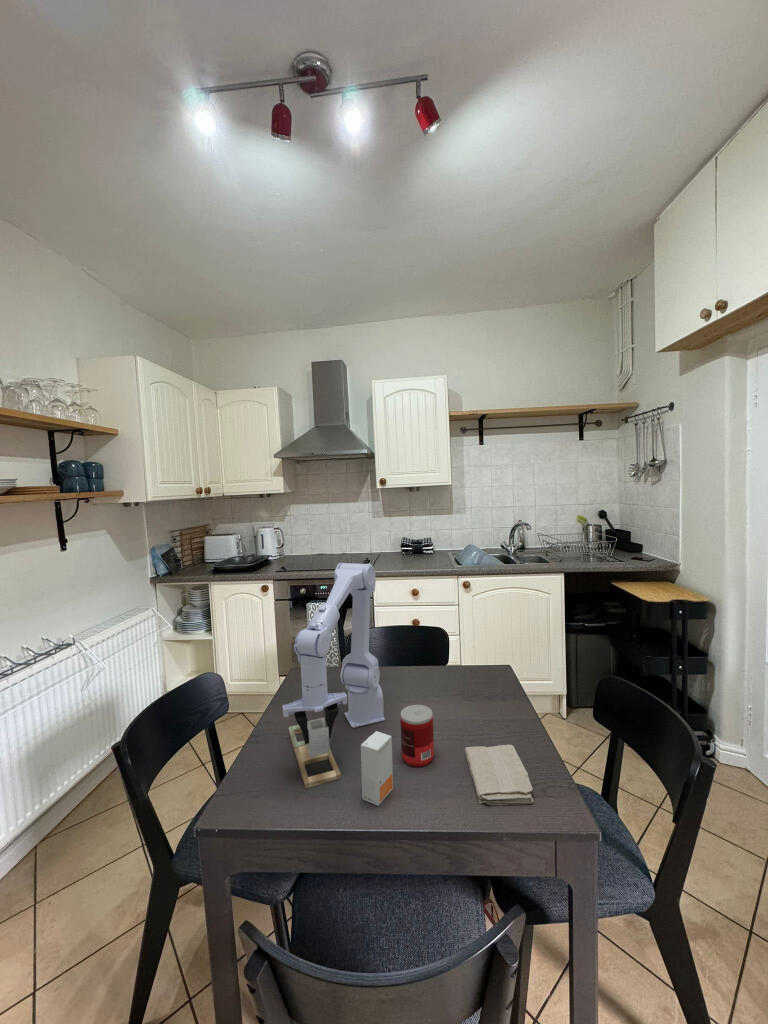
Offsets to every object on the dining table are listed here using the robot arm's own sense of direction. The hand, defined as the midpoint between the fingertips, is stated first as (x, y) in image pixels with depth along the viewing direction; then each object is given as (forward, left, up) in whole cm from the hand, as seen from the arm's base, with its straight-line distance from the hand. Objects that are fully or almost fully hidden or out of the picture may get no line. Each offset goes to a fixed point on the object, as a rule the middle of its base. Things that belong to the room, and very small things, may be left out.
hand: (317, 738), depth 100 cm
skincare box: (-10, +13, -8) cm, 18 cm away
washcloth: (-36, +18, -8) cm, 41 cm away
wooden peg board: (0, -7, -7) cm, 10 cm away
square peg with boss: (0, 0, -3) cm, 3 cm away
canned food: (-23, +5, -8) cm, 25 cm away
